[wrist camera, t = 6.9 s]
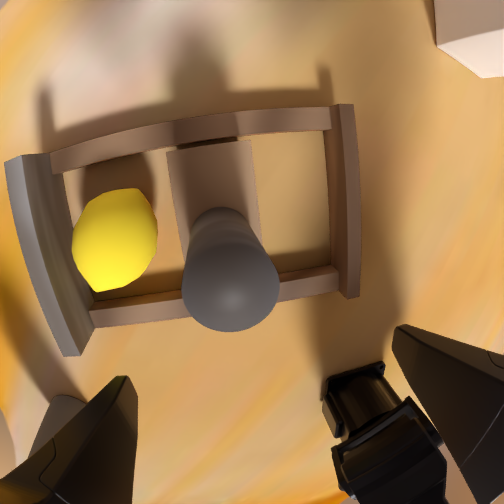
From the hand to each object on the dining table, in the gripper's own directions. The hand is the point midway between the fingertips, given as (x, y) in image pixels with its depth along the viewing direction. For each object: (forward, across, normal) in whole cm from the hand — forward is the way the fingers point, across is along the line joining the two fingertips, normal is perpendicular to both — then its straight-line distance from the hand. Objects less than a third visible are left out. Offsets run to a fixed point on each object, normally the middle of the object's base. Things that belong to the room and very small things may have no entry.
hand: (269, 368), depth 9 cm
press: (+13, +2, -2) cm, 13 cm away
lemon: (+13, +7, -2) cm, 15 cm away
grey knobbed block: (+13, +1, -2) cm, 13 cm away
